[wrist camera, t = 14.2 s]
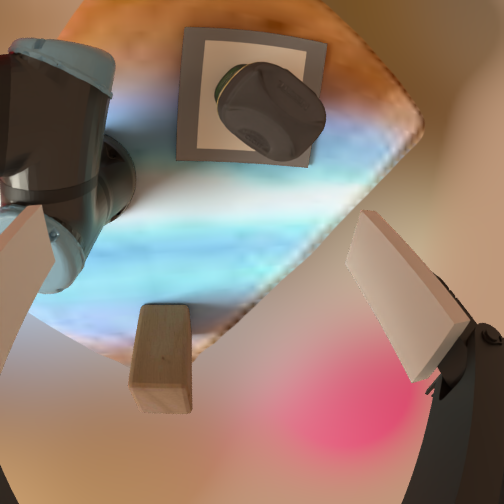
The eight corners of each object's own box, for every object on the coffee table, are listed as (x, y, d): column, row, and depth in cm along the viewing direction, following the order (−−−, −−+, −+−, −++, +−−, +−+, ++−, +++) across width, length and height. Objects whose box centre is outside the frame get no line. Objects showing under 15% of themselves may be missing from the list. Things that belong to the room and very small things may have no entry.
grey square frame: (176, 158, 43) (175, 161, 42) (185, 28, 32) (184, 26, 31) (305, 165, 47) (308, 168, 45) (324, 44, 36) (328, 43, 34)
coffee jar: (204, 99, 38) (200, 118, 22) (239, 56, 35) (262, 43, 19) (259, 137, 42) (291, 182, 26) (293, 96, 39) (348, 117, 24)
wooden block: (188, 302, 59) (187, 389, 43) (192, 335, 65) (192, 415, 48) (140, 302, 58) (125, 387, 41) (147, 335, 63) (139, 414, 47)
